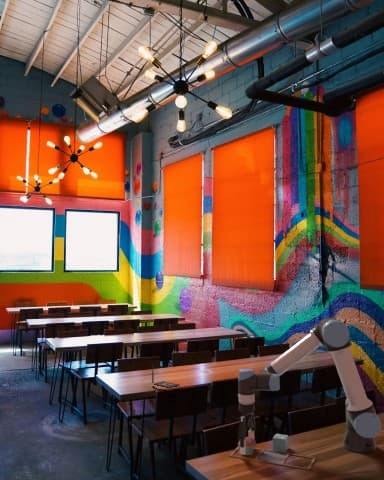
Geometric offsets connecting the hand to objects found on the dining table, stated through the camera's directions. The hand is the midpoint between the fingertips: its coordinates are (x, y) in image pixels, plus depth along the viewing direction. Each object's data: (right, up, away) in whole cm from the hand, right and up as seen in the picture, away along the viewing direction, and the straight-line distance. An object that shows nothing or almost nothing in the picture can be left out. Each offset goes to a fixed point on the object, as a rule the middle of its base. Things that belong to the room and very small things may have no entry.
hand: (247, 449), depth 220 cm
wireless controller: (-46, -11, +121) cm, 130 cm away
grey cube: (+17, -2, +5) cm, 17 cm away
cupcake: (0, -2, 0) cm, 2 cm away
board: (+11, -1, -5) cm, 12 cm away
